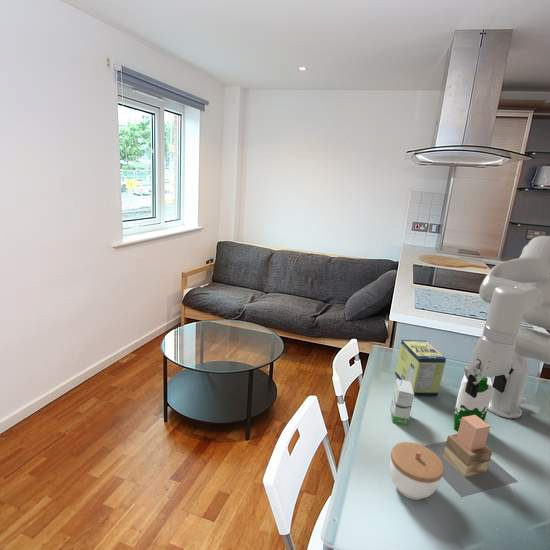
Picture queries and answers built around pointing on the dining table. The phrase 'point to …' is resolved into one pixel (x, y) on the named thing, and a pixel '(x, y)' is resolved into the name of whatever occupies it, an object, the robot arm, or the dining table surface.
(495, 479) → the rubber mat
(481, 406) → the milk carton
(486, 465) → the oak slab
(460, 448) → the walnut slab
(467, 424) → the terracotta block
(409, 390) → the ink box
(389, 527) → the dining table surface
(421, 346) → the protein box
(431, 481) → the lidded bowl
